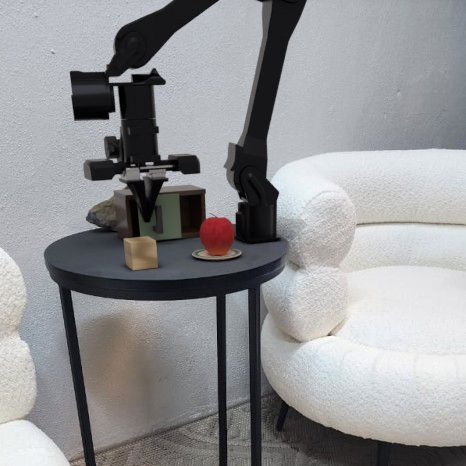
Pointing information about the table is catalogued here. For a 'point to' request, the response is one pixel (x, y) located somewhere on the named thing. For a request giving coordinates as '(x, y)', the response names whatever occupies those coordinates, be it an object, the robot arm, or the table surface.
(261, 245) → the table surface
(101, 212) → the rock
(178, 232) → the sliding door
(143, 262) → the block
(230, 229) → the apple
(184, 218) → the cabinet
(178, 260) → the table surface
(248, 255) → the table surface
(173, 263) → the table surface
